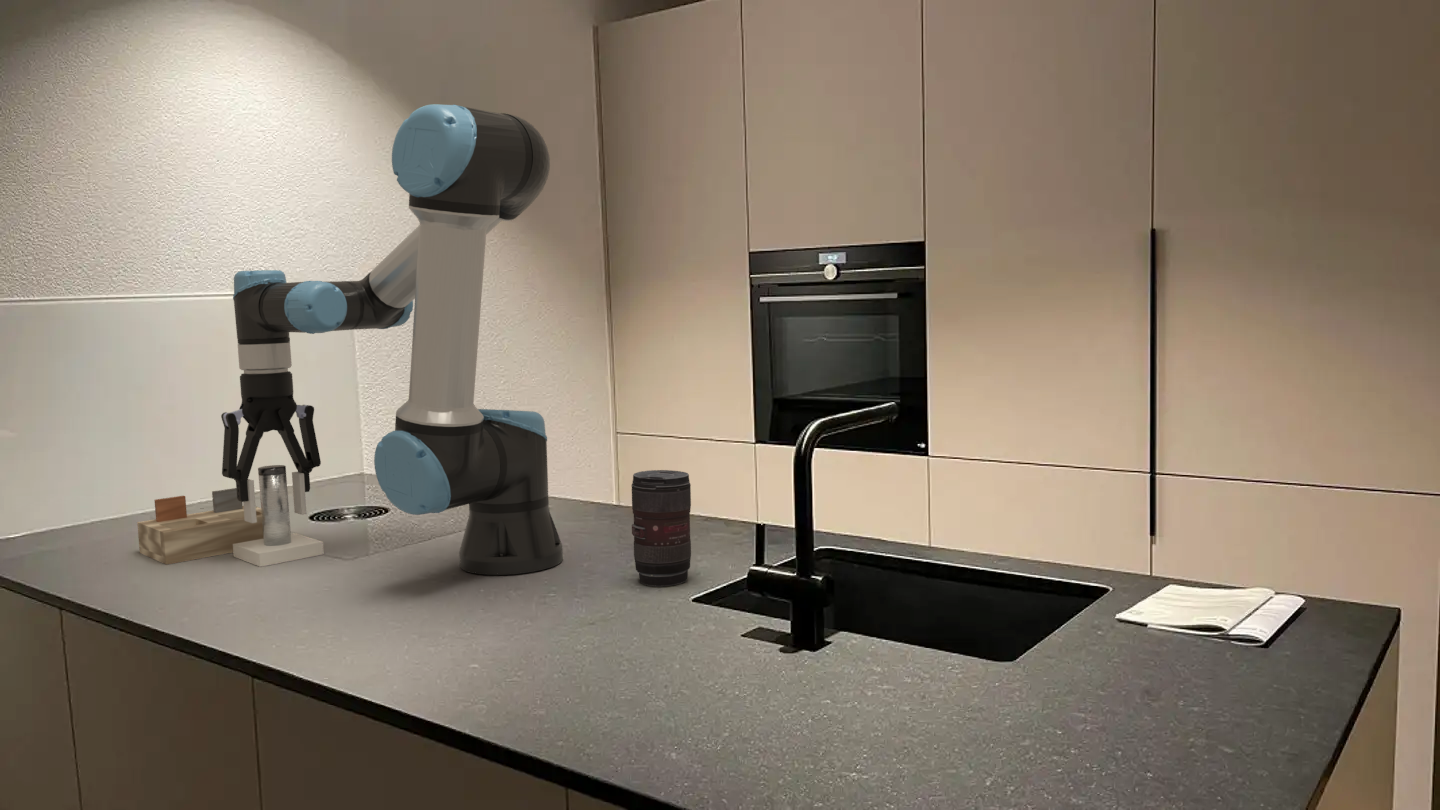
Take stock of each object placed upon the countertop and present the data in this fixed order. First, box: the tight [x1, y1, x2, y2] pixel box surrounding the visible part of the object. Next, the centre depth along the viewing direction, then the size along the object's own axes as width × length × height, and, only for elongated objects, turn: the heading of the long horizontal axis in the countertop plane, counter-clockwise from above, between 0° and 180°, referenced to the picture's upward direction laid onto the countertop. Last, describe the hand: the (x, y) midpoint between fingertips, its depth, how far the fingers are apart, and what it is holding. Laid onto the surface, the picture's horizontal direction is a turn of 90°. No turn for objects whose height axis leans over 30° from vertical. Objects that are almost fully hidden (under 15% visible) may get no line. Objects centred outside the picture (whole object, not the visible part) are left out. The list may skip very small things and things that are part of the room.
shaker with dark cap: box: [257, 464, 292, 546], centre depth 175 cm, size 4×4×12 cm
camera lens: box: [631, 469, 692, 587], centre depth 154 cm, size 8×8×15 cm
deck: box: [233, 532, 325, 568], centre depth 176 cm, size 10×10×2 cm
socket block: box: [136, 487, 264, 565], centre depth 182 cm, size 12×18×8 cm, turn 135°
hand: (276, 517), depth 175 cm, fingers open, 7 cm apart
